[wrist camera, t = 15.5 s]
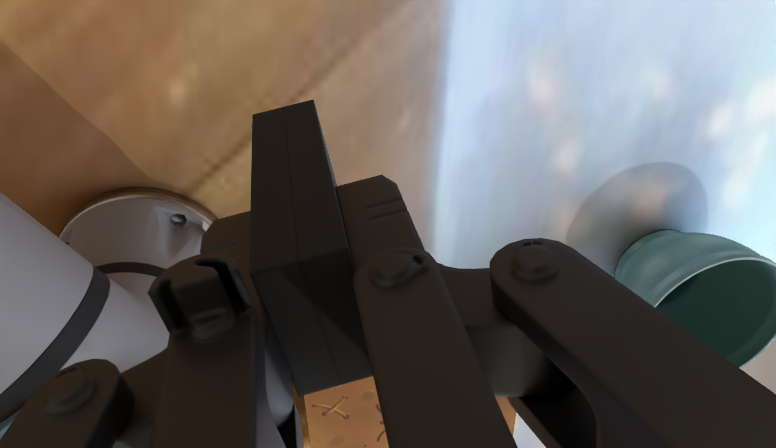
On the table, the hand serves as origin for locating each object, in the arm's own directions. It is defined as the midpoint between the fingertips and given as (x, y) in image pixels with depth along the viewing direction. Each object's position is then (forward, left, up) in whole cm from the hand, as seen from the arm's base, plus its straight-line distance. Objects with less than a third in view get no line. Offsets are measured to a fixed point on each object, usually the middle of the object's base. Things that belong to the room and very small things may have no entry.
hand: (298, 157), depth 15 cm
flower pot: (+32, -39, -35) cm, 61 cm away
